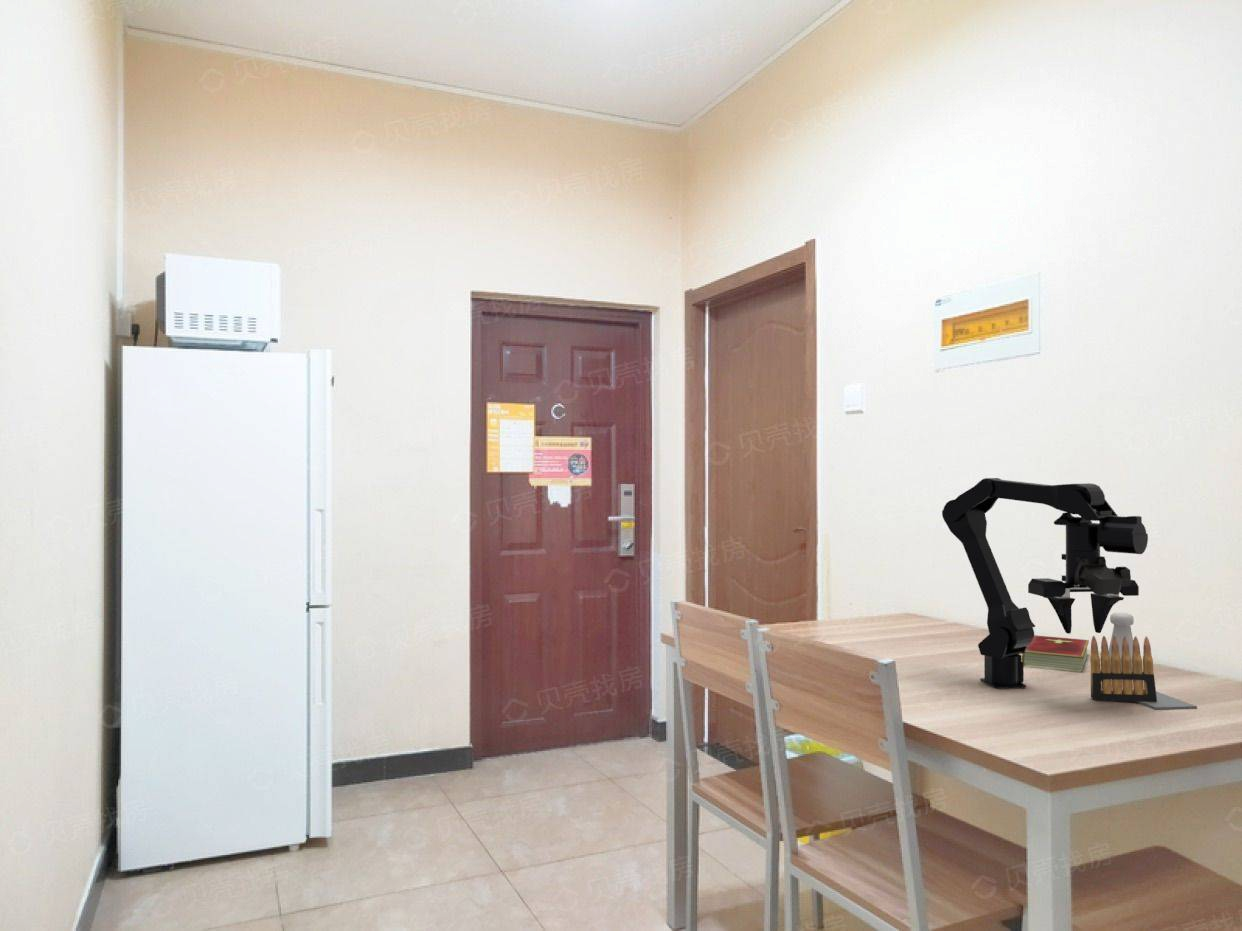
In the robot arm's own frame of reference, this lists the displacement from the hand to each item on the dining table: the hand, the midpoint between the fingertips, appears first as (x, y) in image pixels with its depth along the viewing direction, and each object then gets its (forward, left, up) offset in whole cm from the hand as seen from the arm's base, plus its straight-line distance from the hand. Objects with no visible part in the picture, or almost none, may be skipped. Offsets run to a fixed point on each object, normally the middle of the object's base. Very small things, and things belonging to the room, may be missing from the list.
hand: (1083, 633), depth 161 cm
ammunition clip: (+8, 0, -13) cm, 15 cm away
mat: (+14, 0, -13) cm, 19 cm away
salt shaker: (+22, +20, -13) cm, 32 cm away
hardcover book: (+16, +34, -14) cm, 40 cm away
